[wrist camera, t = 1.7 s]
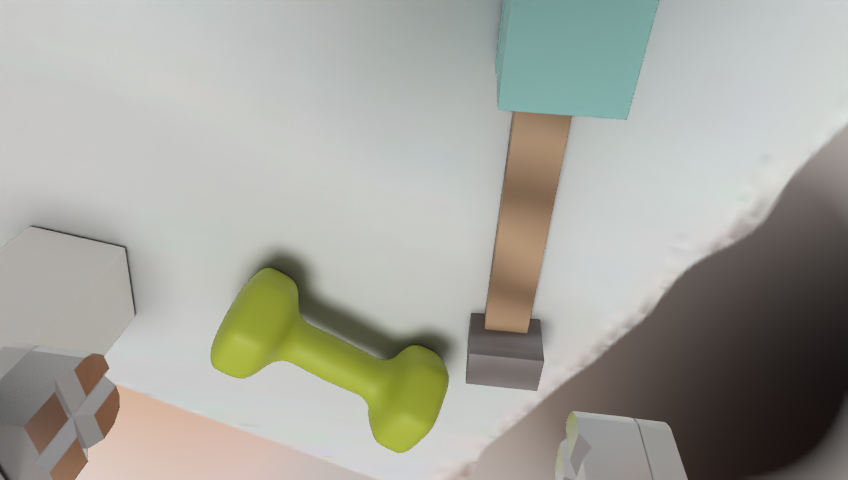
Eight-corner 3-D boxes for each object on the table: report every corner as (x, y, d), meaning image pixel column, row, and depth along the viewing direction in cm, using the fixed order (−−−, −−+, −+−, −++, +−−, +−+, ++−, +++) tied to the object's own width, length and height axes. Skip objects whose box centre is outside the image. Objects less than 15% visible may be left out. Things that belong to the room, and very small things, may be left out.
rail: (524, -129, 24) (529, -128, 21) (637, -124, 24) (660, -122, 21) (467, 344, 41) (465, 385, 38) (533, 350, 41) (536, 392, 38)
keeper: (510, -65, 25) (515, -46, 20) (630, -59, 25) (670, -37, 20) (495, 62, 29) (496, 110, 23) (601, 70, 29) (628, 119, 23)
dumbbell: (230, 307, 42) (187, 379, 36) (269, 239, 38) (229, 308, 32) (408, 396, 46) (395, 474, 40) (461, 344, 42) (457, 423, 36)
